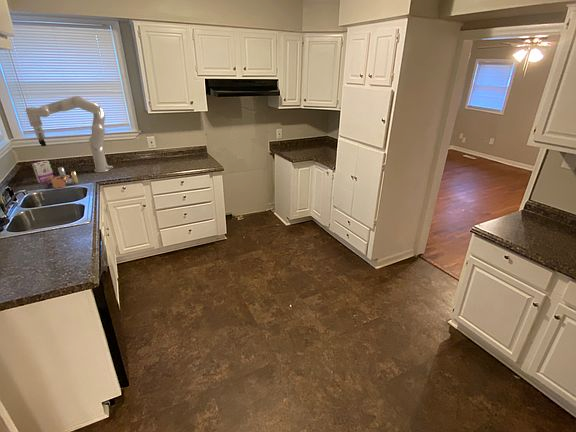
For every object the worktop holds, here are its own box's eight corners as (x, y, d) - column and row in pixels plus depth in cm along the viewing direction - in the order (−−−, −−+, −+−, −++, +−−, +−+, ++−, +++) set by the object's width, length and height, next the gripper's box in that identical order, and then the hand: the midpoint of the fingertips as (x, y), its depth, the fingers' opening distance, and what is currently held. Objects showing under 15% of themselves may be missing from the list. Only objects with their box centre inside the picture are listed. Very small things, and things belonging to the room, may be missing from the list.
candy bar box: (52, 179, 264) (46, 160, 257) (55, 180, 262) (49, 161, 255) (37, 182, 256) (31, 163, 249) (40, 183, 253) (34, 164, 246)
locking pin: (79, 182, 257) (75, 171, 253) (78, 184, 255) (74, 172, 250) (74, 183, 256) (71, 171, 252) (73, 184, 254) (70, 172, 249)
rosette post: (73, 179, 264) (69, 165, 259) (67, 187, 248) (62, 172, 243) (59, 180, 261) (55, 166, 256) (52, 188, 245) (47, 173, 240)
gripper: (43, 124, 246) (50, 146, 254) (40, 121, 258) (46, 142, 265) (31, 125, 242) (38, 147, 249) (29, 122, 253) (36, 143, 261)
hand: (43, 145), depth 257 cm, fingers open, 9 cm apart
